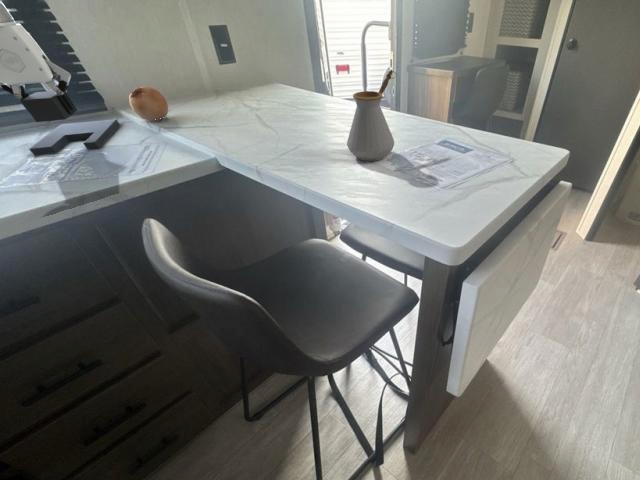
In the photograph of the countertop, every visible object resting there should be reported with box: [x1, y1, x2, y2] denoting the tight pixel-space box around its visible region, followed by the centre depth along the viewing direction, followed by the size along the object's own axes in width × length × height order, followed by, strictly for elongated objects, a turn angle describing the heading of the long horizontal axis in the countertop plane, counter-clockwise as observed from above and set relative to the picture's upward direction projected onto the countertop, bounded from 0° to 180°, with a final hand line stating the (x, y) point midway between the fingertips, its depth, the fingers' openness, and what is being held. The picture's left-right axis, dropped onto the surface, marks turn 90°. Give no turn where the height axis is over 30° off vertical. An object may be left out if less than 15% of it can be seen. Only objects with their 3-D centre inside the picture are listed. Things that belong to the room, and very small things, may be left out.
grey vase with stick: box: [346, 69, 398, 162], centre depth 75 cm, size 21×12×15 cm, turn 160°
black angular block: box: [19, 90, 79, 123], centre depth 76 cm, size 6×8×4 cm
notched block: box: [28, 118, 120, 156], centre depth 86 cm, size 14×20×2 cm
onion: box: [128, 85, 169, 123], centre depth 94 cm, size 10×9×10 cm
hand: (56, 113), depth 77 cm, fingers closed on black angular block, 6 cm apart
